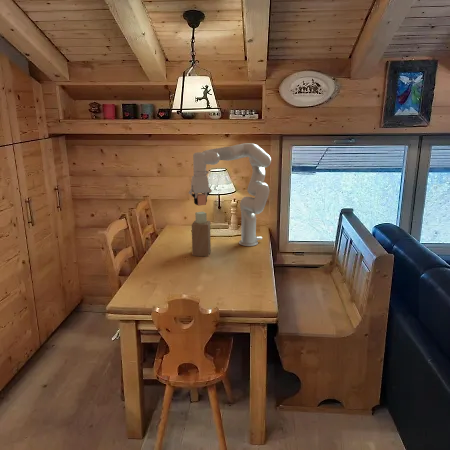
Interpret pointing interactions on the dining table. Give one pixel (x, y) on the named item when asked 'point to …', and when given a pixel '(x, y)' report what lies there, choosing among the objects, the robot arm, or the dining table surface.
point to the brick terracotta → (201, 199)
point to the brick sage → (201, 217)
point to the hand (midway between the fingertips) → (200, 203)
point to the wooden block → (201, 239)
